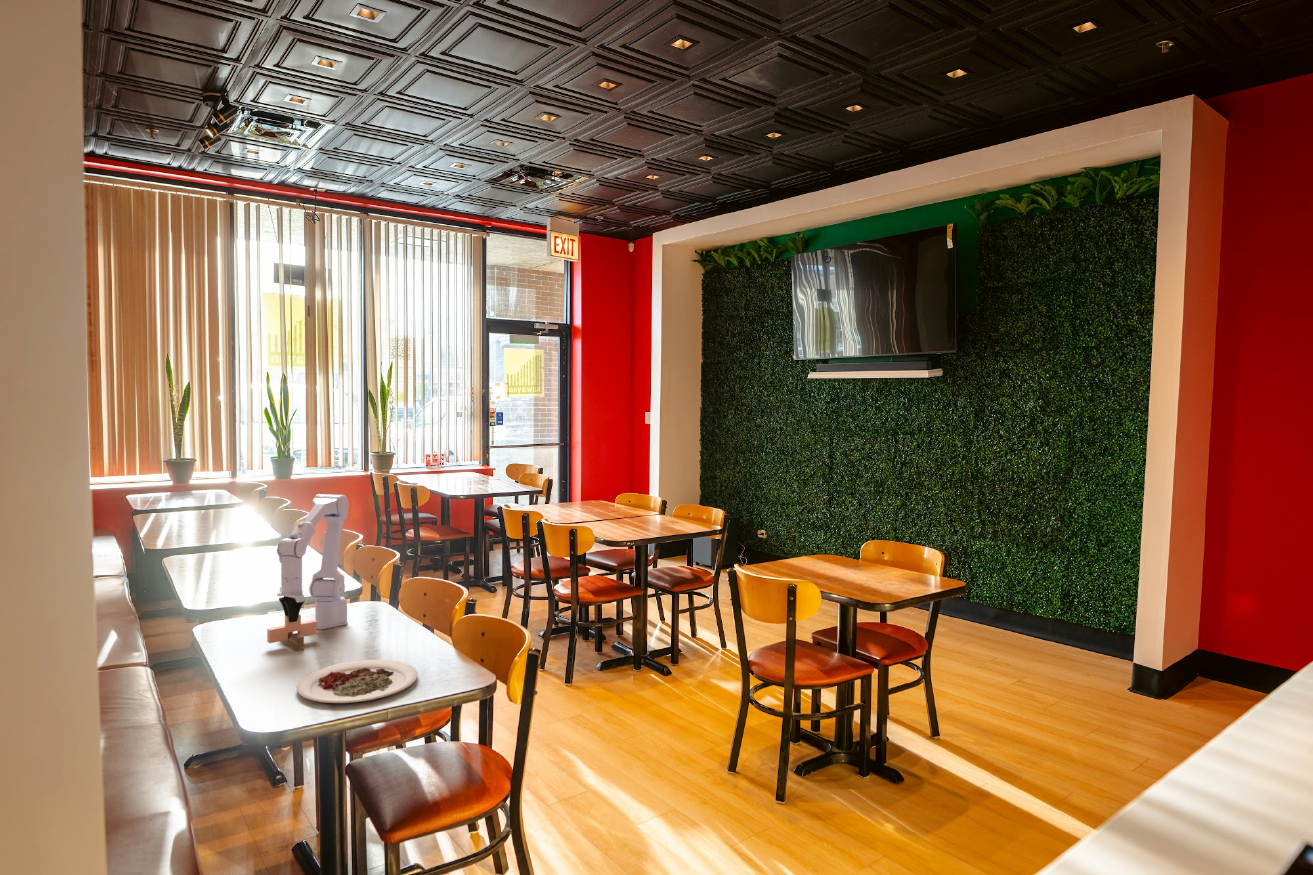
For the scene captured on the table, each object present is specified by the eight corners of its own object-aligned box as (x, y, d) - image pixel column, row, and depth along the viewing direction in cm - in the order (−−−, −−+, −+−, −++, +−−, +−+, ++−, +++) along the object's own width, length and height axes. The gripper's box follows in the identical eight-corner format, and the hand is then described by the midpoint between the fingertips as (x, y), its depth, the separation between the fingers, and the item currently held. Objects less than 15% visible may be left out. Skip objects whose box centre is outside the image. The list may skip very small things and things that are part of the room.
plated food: (421, 699, 190) (421, 686, 190) (291, 715, 179) (291, 702, 179) (413, 661, 218) (413, 649, 218) (301, 673, 207) (301, 661, 207)
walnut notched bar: (286, 638, 234) (286, 626, 234) (303, 649, 225) (303, 636, 225) (280, 640, 233) (280, 627, 233) (297, 651, 223) (297, 638, 223)
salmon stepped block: (314, 632, 235) (314, 610, 234) (317, 634, 233) (317, 612, 233) (267, 641, 225) (267, 618, 224) (269, 643, 223) (269, 620, 223)
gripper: (269, 575, 230) (269, 618, 231) (286, 583, 220) (286, 628, 221) (293, 571, 235) (293, 613, 236) (311, 579, 225) (311, 623, 226)
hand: (291, 620), depth 228 cm, fingers closed on salmon stepped block, 2 cm apart
